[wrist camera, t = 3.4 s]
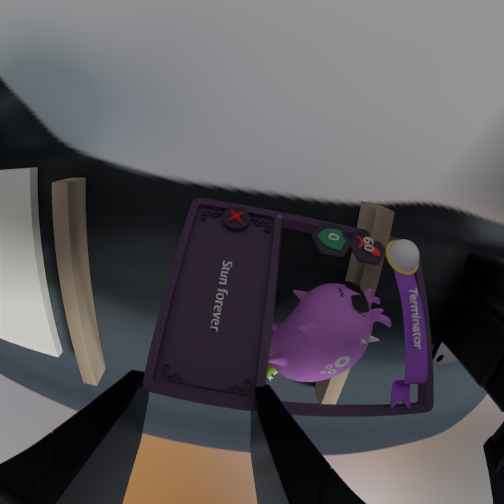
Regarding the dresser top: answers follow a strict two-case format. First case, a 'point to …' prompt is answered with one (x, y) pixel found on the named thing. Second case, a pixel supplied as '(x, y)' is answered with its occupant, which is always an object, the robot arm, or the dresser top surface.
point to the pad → (24, 266)
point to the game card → (262, 313)
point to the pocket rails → (80, 291)
